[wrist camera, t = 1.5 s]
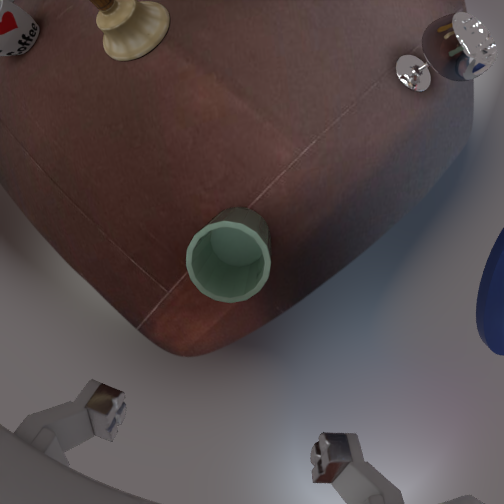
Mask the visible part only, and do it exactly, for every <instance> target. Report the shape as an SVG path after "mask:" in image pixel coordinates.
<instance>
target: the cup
mask: <svg viewBox="0 0 504 504" xmlns="http://www.w3.org/2000/svg"><path fill="white" fill-rule="evenodd" d="M38 34H39V26H38V25H37V23H36V22H35V21H34V19H33V18H32V17H31V16H30V15H29V14H28V13H26V12H25V11H24V10H23V9H21V8H20V7H19V6H17V5H15V4H14V3H12V2H10V1H8V0H0V56H11V55H19V54H24V53H25V52H27V51H28V50H29V49H30V48H31V47H32V46H33V44H34V43H35V41H36V39H37V37H38Z"/></svg>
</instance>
